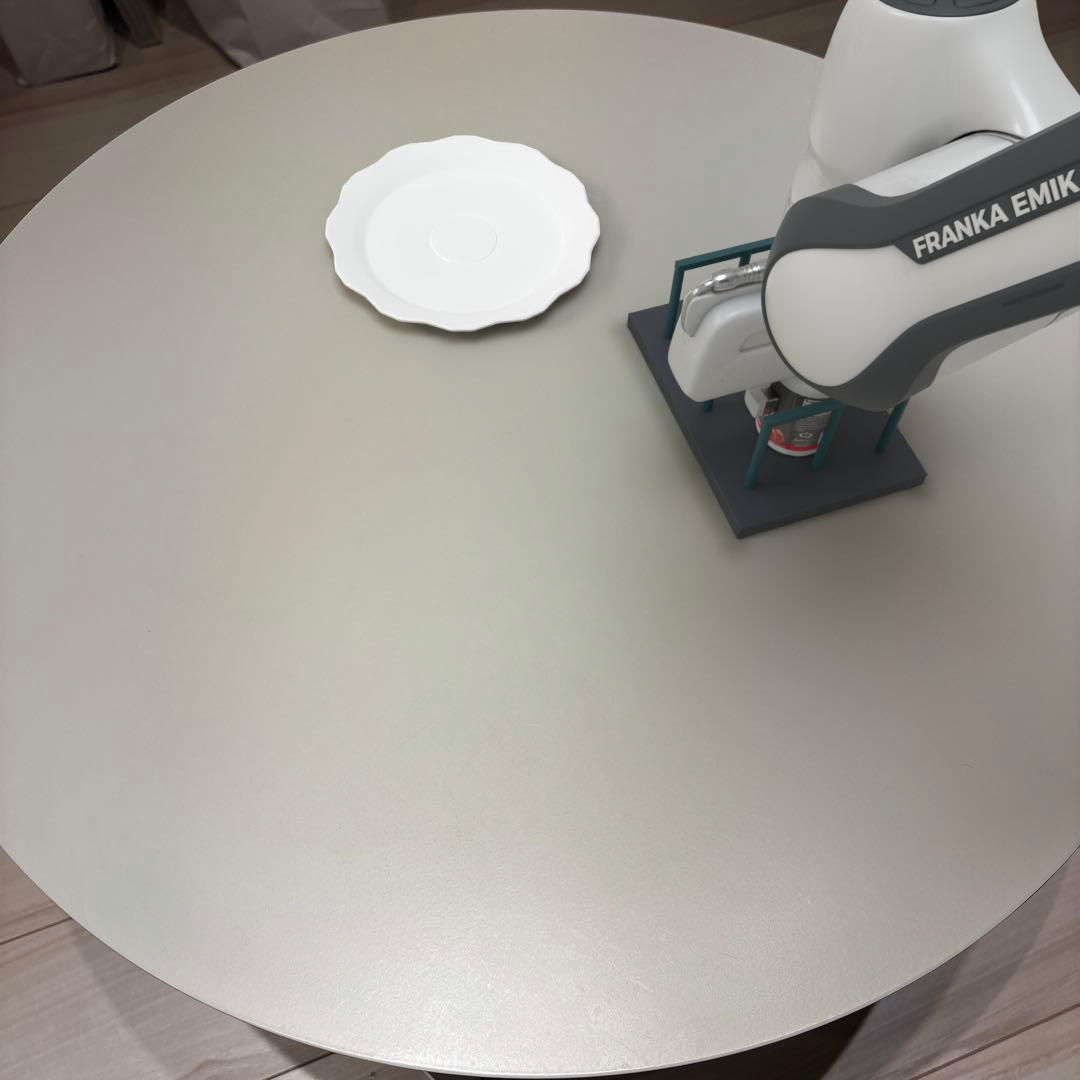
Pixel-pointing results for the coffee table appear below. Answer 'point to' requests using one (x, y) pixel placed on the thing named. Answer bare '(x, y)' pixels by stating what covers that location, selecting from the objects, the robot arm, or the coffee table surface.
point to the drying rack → (744, 454)
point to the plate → (462, 233)
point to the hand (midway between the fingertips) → (805, 395)
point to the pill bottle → (800, 433)
